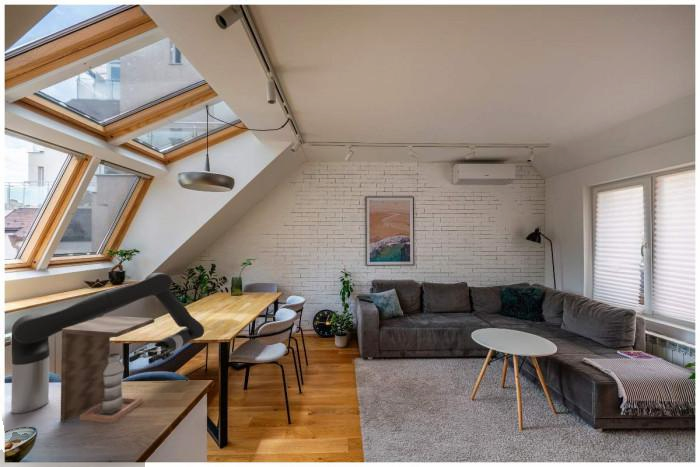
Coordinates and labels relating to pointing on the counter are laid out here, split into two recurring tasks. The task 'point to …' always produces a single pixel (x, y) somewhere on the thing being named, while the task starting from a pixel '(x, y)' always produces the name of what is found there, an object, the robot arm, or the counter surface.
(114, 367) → the plastic bottle
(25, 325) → the robot arm
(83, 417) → the square wooden frame
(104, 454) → the counter surface
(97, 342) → the bracket shelf
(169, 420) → the counter surface
